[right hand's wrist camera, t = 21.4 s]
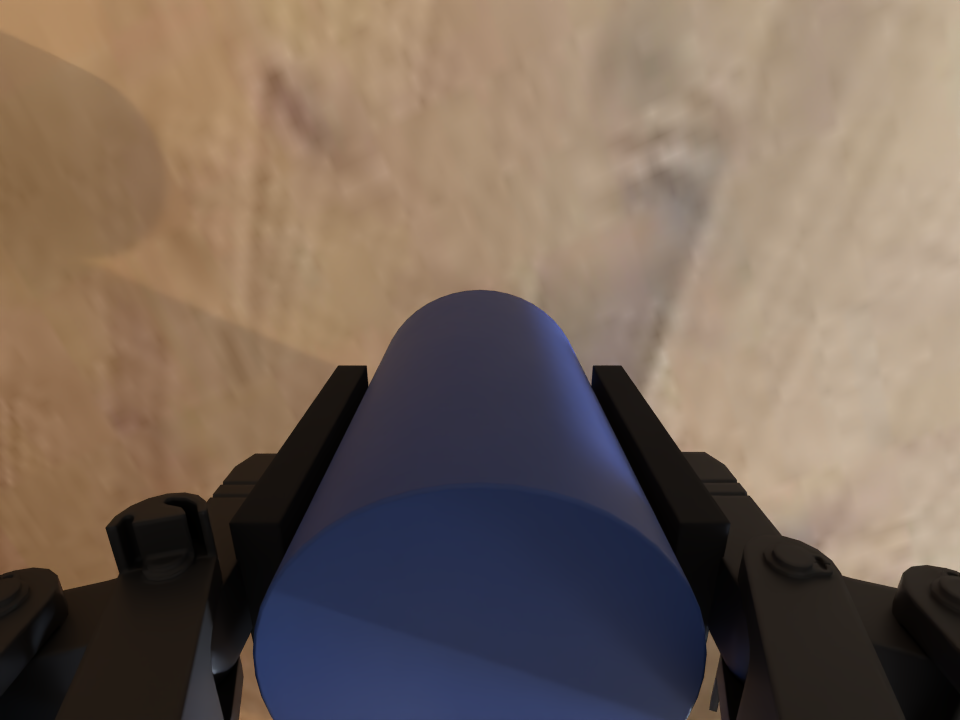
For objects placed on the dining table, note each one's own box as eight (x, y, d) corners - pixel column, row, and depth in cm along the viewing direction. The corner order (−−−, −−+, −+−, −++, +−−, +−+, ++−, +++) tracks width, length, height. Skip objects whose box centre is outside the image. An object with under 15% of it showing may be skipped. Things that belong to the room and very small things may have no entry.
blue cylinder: (342, 351, 16) (152, 613, 7) (519, 250, 15) (586, 396, 6) (446, 498, 18) (410, 862, 8) (610, 418, 16) (772, 734, 7)
